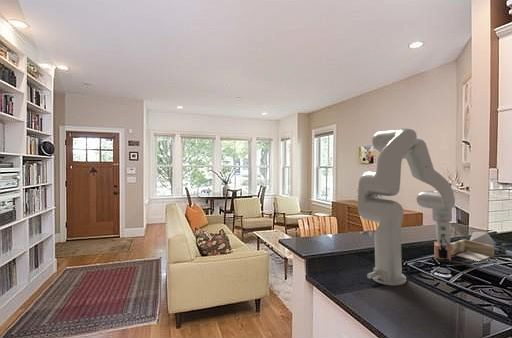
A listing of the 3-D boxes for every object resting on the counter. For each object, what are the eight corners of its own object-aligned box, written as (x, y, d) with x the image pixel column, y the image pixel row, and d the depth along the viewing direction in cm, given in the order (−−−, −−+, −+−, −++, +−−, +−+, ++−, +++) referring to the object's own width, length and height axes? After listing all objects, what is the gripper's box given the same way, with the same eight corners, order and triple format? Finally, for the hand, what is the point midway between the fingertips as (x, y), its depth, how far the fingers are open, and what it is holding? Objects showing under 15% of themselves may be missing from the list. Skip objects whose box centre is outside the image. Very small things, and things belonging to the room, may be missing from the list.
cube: (451, 260, 129) (450, 247, 128) (435, 258, 132) (435, 245, 131) (449, 255, 134) (449, 242, 134) (434, 253, 137) (434, 241, 137)
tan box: (477, 263, 124) (477, 251, 124) (448, 254, 135) (447, 243, 135) (494, 256, 130) (494, 245, 130) (464, 248, 141) (464, 238, 141)
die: (490, 248, 142) (475, 230, 146) (502, 244, 134) (486, 225, 138) (476, 256, 141) (461, 237, 145) (487, 253, 133) (471, 233, 137)
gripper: (454, 222, 122) (454, 263, 124) (450, 213, 137) (450, 250, 139) (433, 220, 126) (433, 261, 127) (431, 212, 141) (432, 248, 142)
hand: (442, 255), depth 133 cm, fingers closed on cube, 6 cm apart
